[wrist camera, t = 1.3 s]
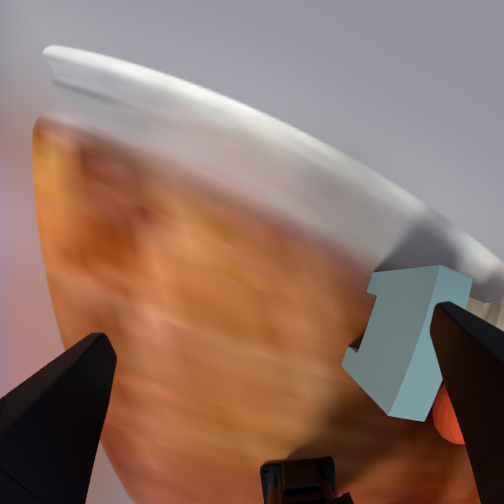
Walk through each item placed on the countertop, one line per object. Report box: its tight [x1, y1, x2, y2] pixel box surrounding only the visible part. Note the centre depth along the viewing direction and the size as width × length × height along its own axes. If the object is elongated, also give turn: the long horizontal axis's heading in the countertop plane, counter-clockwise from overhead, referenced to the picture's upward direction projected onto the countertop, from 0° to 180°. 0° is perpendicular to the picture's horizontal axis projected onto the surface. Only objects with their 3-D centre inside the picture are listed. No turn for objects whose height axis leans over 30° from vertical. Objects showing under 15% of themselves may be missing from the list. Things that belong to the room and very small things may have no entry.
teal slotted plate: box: [341, 265, 473, 422], centre depth 19 cm, size 8×2×11 cm, turn 161°
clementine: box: [432, 383, 465, 444], centre depth 20 cm, size 8×7×7 cm
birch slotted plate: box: [466, 297, 504, 331], centre depth 22 cm, size 2×10×5 cm, turn 71°
